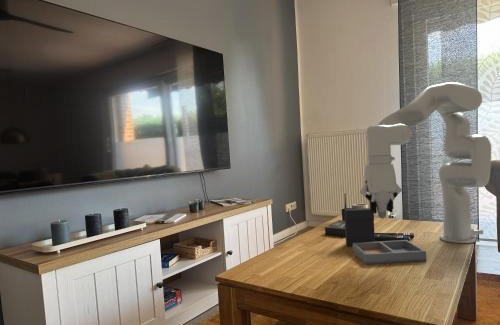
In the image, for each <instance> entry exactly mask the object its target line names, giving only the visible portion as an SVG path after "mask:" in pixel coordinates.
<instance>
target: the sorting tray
mask: <svg viewBox="0 0 500 325" xmlns="http://www.w3.org/2000/svg"><path fill="white" fill-rule="evenodd" d="M352 253H353V254H354V255H355V256H357V258H358V259H359V260H360V261H362V263H363V264H365V265H367V266H368V265H370V266H371V265H383V264H385V265H386V264H399V263H401V264H402V263H417V262H419V263H420V262H427V251H426V250H425V249H424V248H421V246H418V245H416V244H415V243H413V242H411V241H409V240H408V239H403V240H402V239H401V240H400V239H399V240H385V241H384V240H383V241H375V242H364V243H353V247H352Z"/></svg>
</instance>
